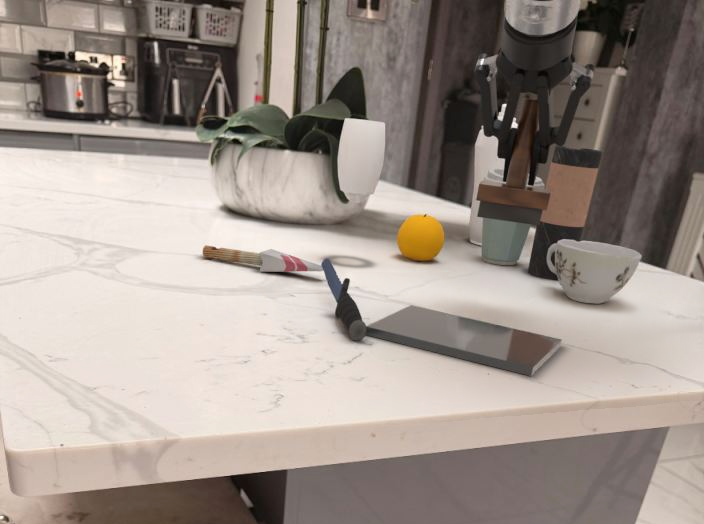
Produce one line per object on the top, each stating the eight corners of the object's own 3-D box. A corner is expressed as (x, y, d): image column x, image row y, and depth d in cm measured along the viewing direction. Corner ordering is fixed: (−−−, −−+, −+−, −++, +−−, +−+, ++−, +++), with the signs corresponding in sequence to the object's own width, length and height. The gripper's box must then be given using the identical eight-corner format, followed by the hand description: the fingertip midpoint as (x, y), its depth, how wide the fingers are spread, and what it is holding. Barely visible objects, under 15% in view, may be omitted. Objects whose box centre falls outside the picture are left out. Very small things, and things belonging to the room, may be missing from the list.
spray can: (453, 241, 152) (478, 100, 140) (461, 234, 161) (485, 101, 149) (511, 251, 150) (542, 107, 138) (516, 243, 159) (545, 108, 146)
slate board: (560, 347, 93) (562, 339, 93) (530, 376, 82) (533, 367, 82) (409, 312, 101) (411, 305, 100) (364, 334, 90) (365, 326, 89)
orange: (420, 253, 138) (427, 209, 134) (449, 263, 132) (457, 218, 129) (385, 254, 134) (392, 209, 130) (413, 265, 128) (421, 217, 125)
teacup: (643, 307, 118) (659, 253, 114) (595, 313, 111) (611, 257, 107) (564, 283, 128) (577, 233, 124) (515, 287, 121) (527, 235, 117)
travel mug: (555, 282, 128) (587, 151, 118) (517, 271, 132) (545, 144, 122) (578, 278, 132) (612, 152, 123) (541, 268, 137) (570, 146, 127)
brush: (543, 221, 102) (570, 103, 95) (543, 226, 97) (571, 103, 91) (476, 212, 103) (498, 95, 96) (472, 216, 99) (495, 94, 92)
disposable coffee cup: (539, 266, 138) (560, 177, 131) (501, 270, 132) (521, 176, 124) (494, 254, 145) (511, 168, 138) (456, 256, 139) (472, 167, 131)
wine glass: (379, 263, 126) (397, 124, 116) (354, 268, 121) (371, 122, 111) (343, 254, 130) (358, 118, 119) (318, 259, 124) (331, 117, 114)
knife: (355, 308, 84) (343, 349, 87) (375, 311, 85) (362, 352, 88) (318, 238, 103) (309, 274, 106) (335, 242, 104) (326, 277, 107)
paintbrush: (320, 261, 108) (198, 243, 115) (319, 280, 109) (199, 262, 116) (331, 257, 111) (212, 240, 118) (329, 276, 112) (212, 258, 119)
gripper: (457, 33, 80) (455, 190, 102) (611, 48, 76) (574, 207, 98) (475, -20, 82) (469, 145, 104) (626, -9, 78) (586, 160, 100)
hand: (520, 175), depth 101 cm, fingers closed on brush, 3 cm apart
